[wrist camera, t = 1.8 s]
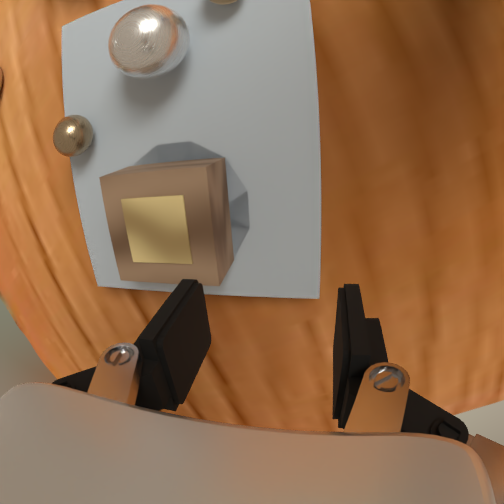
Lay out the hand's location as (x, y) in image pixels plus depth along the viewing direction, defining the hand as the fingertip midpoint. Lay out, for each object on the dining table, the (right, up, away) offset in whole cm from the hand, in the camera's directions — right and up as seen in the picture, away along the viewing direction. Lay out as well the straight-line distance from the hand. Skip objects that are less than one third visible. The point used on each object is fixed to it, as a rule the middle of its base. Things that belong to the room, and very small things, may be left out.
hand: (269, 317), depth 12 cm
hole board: (-6, +13, +15) cm, 21 cm away
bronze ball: (-16, +13, +12) cm, 24 cm away
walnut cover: (-7, +6, +15) cm, 17 cm away
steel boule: (-8, +18, +7) cm, 20 cm away
